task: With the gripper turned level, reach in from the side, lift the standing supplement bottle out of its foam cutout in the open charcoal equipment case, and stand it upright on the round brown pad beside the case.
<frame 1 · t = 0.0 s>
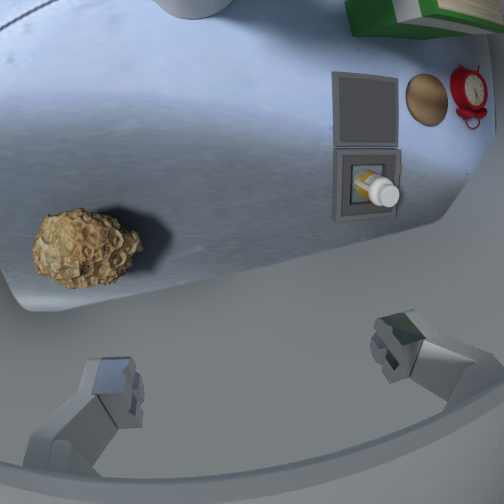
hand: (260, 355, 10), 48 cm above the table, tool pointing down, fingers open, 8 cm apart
round brown pad: (425, 99, 54), on the table
equipment case: (364, 182, 60), on the table
supplement bottle: (364, 182, 60), resting in equipment case
alarm clock: (464, 95, 55), on the table
fossil: (88, 233, 55), on the table
hardback book: (386, 20, 46), on the table
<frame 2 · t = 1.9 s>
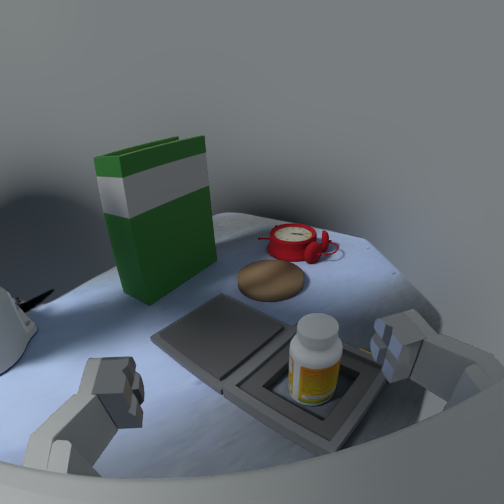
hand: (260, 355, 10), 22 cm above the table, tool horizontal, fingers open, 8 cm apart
round brown pad: (270, 282, 54), on the table
equipment case: (311, 388, 34), on the table
supplement bottle: (311, 390, 34), resting in equipment case
alarm clock: (300, 253, 65), on the table
hardback book: (172, 276, 58), on the table
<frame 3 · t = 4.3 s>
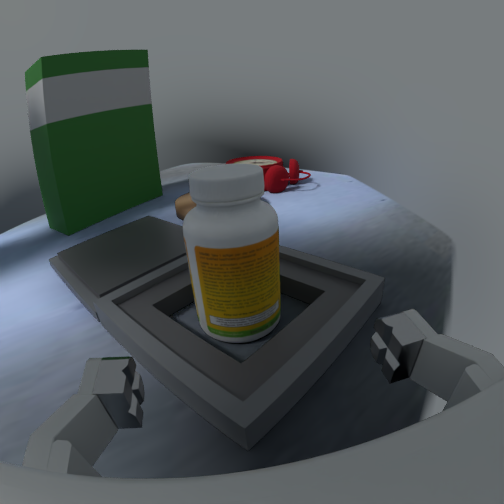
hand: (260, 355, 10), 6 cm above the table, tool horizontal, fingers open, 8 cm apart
round brown pad: (218, 207, 42), on the table
equipment case: (239, 318, 21), on the table
supplement bottle: (240, 320, 21), resting in equipment case
alarm clock: (264, 187, 52), on the table
hardback book: (106, 211, 46), on the table
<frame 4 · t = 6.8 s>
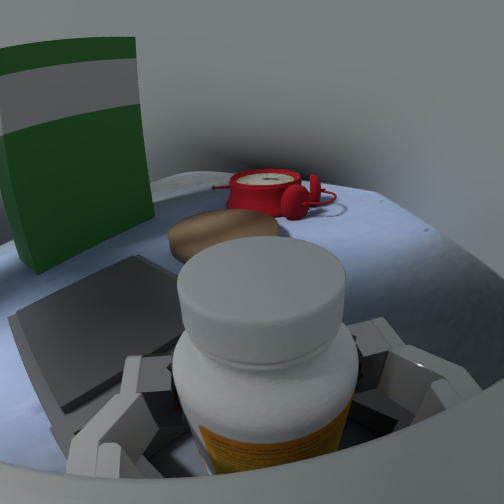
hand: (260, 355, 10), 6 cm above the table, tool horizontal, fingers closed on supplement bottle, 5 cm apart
round brown pad: (224, 241, 33), on the table
equipment case: (269, 459, 12), on the table
supplement bottle: (269, 461, 12), resting in equipment case, touching gripper
alarm clock: (278, 209, 42), on the table
hardback book: (87, 238, 37), on the table
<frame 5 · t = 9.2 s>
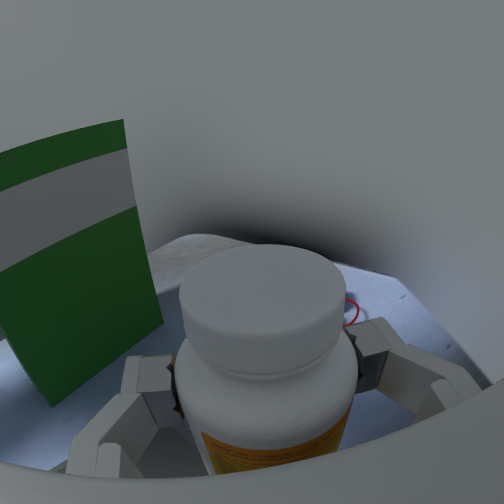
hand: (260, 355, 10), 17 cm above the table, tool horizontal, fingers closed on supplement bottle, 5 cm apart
supplement bottle: (269, 464, 12), point 10 cm above the table, touching gripper
hardback book: (93, 350, 33), on the table
when the fingers open (9 cm above the table, at t = 12.0 s): supplement bottle stays where it is, resting on round brown pad.
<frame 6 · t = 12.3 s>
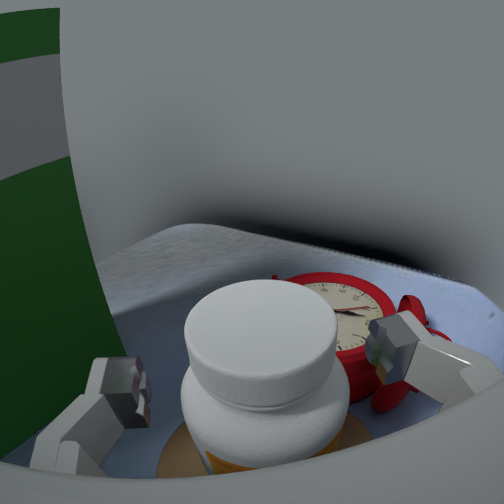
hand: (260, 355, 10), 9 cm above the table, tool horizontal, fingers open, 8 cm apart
round brown pad: (270, 481, 13), on the table
supplement bottle: (269, 473, 13), point 1 cm above the table, touching round brown pad
alarm clock: (345, 360, 21), on the table
hardback book: (23, 401, 17), on the table
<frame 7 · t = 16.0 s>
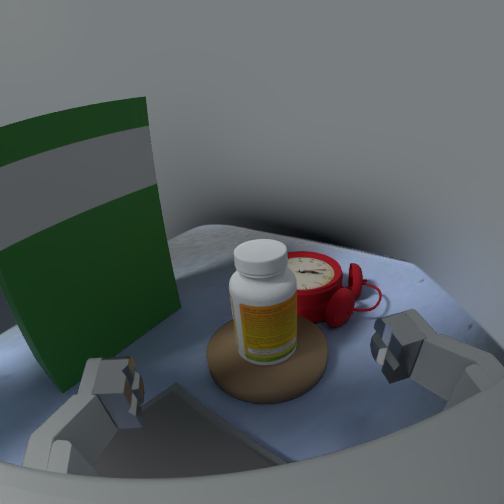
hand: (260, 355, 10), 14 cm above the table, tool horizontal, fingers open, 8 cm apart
round brown pad: (267, 358, 29), on the table
supplement bottle: (267, 348, 28), point 1 cm above the table, touching round brown pad
alarm clock: (314, 303, 37), on the table
hardback book: (108, 336, 33), on the table
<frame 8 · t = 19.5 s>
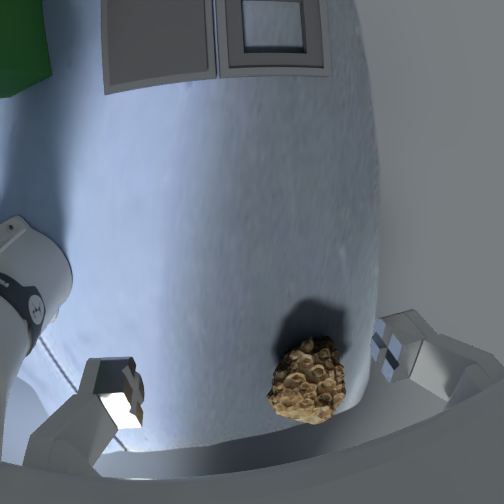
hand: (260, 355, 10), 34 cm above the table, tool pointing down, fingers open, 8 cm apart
equipment case: (271, 26, 33), on the table
fossil: (297, 365, 59), on the table
hardback book: (22, 33, 27), on the table
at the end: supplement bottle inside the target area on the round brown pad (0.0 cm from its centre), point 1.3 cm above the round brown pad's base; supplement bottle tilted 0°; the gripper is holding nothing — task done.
